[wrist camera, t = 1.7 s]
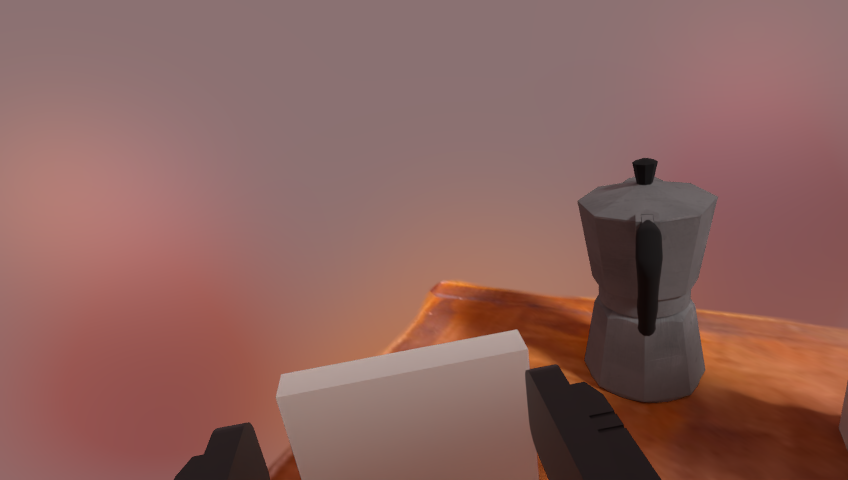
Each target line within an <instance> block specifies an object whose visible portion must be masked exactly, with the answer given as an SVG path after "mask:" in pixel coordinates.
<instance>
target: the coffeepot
mask: <svg viewBox="0 0 848 480" xmlns="http://www.w3.org/2000/svg"><path fill="white" fill-rule="evenodd" d="M656 167H657V161H656V160H654V159H649V158H642V159H639V160H635V161H634V162H633V168H634V173H635V177H633V178H629V179H627V180H626V181H624V182H623V183H619V184H613V185H607V186H601V187H597V188H596V189H594V190H593V191H591V192H590V193H588V194H587V195H585V196H584V197H583V198H581V199H580V200H578V206H579V210H580V216H581V221H582V226H583V230H584V235H585V241H586V245H587V251H588V256H589V261H590V266H591V271H592V275H593V277H594V279H595V280H596V282H597V283H598V284H599V295H598V297H597V298H596V300H595V302H594V308H593V314H592V320H591V325H590V331H589V337H588V343H587V348H586V354H585V360H584V361H585V362H586V364H587V366H588V368H589V370H590V373H591V375H592V377H593V378H594V379H595V381H596V382H597V383H598V385H599V386H600V387H602V388H604V389H606V390H607V391H609V392H611V393H613V394H615V395H618V396H620V397H623V398H626V399H630V400H634V401H640V402H653V403H658V402H668V401H673V400H677V399H680V398H682V397H685V396H687V395H691V394H692V392H693V391H694V390H695V388H696V387H697V386H698V384H699V381H700V378H701V377H702V375H703V373H704V371H705V365H704V359H703V352H702V346H701V340H700V333H699V327H698V321H697V314H696V308H695V304H694V303H693V302H692V300H691V288H692V287H693V286H694V284H695V283H696V281H697V279H698V277H699V273H700V268H701V264H702V260H703V256H704V252H705V248H706V244H707V239H708V235H709V231H710V227H711V223H712V219H713V215H714V210H715V206H716V202H717V199H718V197H717V196H715V195H713V194H711V193H709V192H707V191H705V190H703V189H701V188H699V187H697V186H695V185H693V184H691V183H680V182H665V181H663V180H660V179H658V178H656V177H654V175H655V171H656Z"/></svg>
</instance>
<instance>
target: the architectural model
mask: <svg viewBox="0 0 848 480" xmlns="http://www.w3.org/2000/svg"><path fill="white" fill-rule="evenodd" d="M839 430H840V433H841V435H842V438H843V440H844V443H845V445H846V448H847V450H848V382H847V388H846V393H845V398H844V403H843V408H842V413H841V418H840V424H839Z"/></svg>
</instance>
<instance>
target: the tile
mask: <svg viewBox="0 0 848 480" xmlns="http://www.w3.org/2000/svg"><path fill="white" fill-rule="evenodd" d="M529 369H530V367H529V355H528V348H527V346H526V344H525V343H524V341H523V339H522V337H521V335H520V333H519V332H518V330H511V331H506V332H501V333H496V334H490V335H485V336H480V337H475V338H469V339H464V340H459V341H454V342H449V343H443V344H438V345H433V346H428V347H422V348H417V349H412V350H407V351H401V352H396V353H391V354H386V355H380V356H375V357H370V358H365V359H360V360H354V361H349V362H344V363H339V364H334V365H328V366H323V367H318V368H312V369H307V370H302V371H297V372H291V373H286V374H281V378H280V382H279V386H278V390H277V395H276V400H277V403H278V406H279V409H280V413H281V416H282V419H283V422H284V426H285V428H286V432H287V435H288V438H289V441H290V445H291V448H292V451H293V454H294V458H295V461H296V464H297V467H298V470H299V473H300V477H301V480H539V473H538V461H537V451H536V448H535V445H534V442H533V439H532V435H531V431H530V425H529V416H528V405H527V394H526V382H525V371H526V370H529Z"/></svg>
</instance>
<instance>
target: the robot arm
mask: <svg viewBox="0 0 848 480" xmlns="http://www.w3.org/2000/svg"><path fill="white" fill-rule="evenodd" d="M525 382H526V394H527V405H528V416H529V425H530V431H531V435H532V439H533V442H534V445H535V448H536V451H537V453H538V455H539V458H540V460H541V463H542V465H543V467H544V470H545V472H546V474H547V477H548V479H549V480H661V479H660V477H659V476H658V474H657V473H656V471H655V470H654V468H653V467H652V465H651V464H650V462H649V461H648V460H647V458H646V457H645V455H644V454H643V452H642V451H641V449H640V448H639V446H638V445H637V443H636V442H635V441H634V439H633V438H632V436H631V435H630V433H629V432H628V430H627V429H626V428H624V424H623V423H622V422H621V420H620V419H619V417H618V416H617V414H615V413H614V410H613V408H612V407H611V405H610V404H609V403H608V401H607V400H606V398H605V397H604V395H603V394H602V393H600V392H599V391H597V390H596V389H594V388H593V387H591V386H590V385H588V384H587V383H585V382H581V383H576V384H571V385H570V384H569V382H568V381H567V379H566V377H565V376H564V374H563V372H562V371H561V369H560V367H559V366H558V365H556V364H555V365H550V366H545V367H539V368H534V369H529V370H526V371H525ZM174 480H270V477H269V472H268V469H267V466H266V463H265V460H264V458H263V455H262V452H261V449H260V446H259V443H258V440H257V437H256V434H255V431H254V428H253V426H252V425H251V424H250V423H243V424H238V425H232V426H227V427H222V428H217V429H215V430H214V431H213V433H212V435H211V438H210V440H209V443H208V445H207V448H206V450H205V453H204V455H199V456H194V457H192V458H191V459H190V460H189V462H188V463H187V464H186V465H185V466H184V467H183V468H182V470H181V471H180V472H179V473H178V474H177V475H176V476H175V479H174Z"/></svg>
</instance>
